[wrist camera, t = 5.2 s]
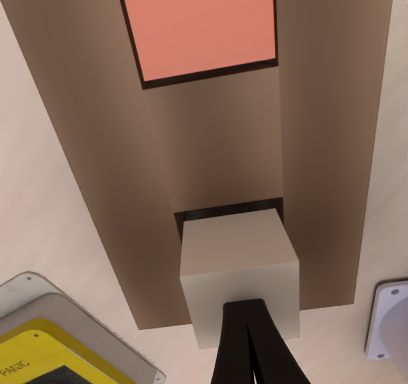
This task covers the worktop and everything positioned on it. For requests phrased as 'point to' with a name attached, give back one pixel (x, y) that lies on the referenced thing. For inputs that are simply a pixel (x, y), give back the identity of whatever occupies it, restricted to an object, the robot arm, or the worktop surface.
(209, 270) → the off-white plunger
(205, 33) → the salmon red square block
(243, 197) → the walnut plunger housing
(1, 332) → the emergency button
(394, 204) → the worktop surface
